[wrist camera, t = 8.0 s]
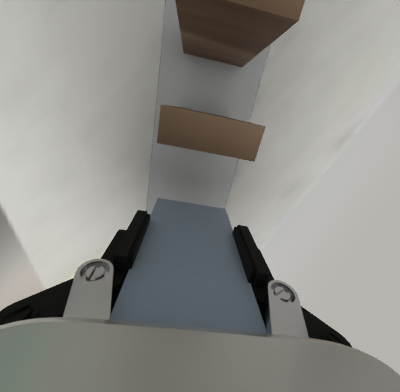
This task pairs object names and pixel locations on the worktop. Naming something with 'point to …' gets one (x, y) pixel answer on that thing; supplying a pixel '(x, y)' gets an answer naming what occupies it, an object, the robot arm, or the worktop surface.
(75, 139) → the worktop surface
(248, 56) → the tile
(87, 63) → the worktop surface
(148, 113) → the worktop surface
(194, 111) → the tile
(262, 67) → the mat
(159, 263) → the slate tile
